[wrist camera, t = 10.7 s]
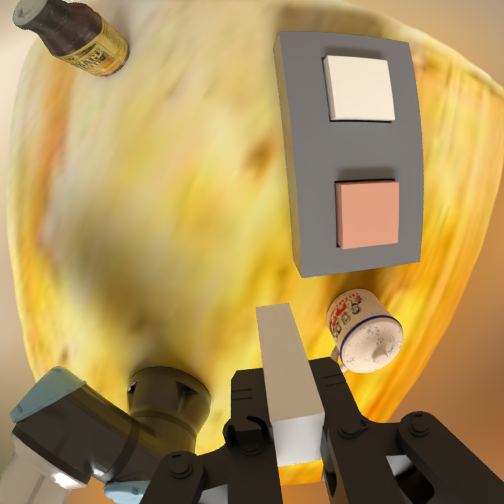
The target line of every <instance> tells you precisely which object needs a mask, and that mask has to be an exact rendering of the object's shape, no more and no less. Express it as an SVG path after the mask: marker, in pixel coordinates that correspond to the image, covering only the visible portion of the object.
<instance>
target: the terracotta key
mask: <svg viewBox="0 0 504 504" xmlns="http://www.w3.org/2000/svg"><path fill="white" fill-rule="evenodd" d="M334 188H335V210H336V243H337V244H338V245H339V246H340V247H341V248H342V249H350V248H358V247H367V246H375V245H384V244H393V243H398V229H399V182H395V181H391V180H387V179H360V180H341V181H334Z"/></svg>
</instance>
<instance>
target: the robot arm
mask: <svg viewBox="0 0 504 504" xmlns="http://www.w3.org/2000/svg"><path fill="white" fill-rule="evenodd" d="M256 314H257V322H258V330H259V339H260V347H261V355H262V363H263V368H256V369H247V370H238V371H236V373H235V374H234V376H233V378H232V379H231V419H229V420H228V422H227V423H226V424H225V425H224V428H223V432H222V433H223V436H224V439H225V442H226V443H225V444H224V445H223V446H222V447H220V448H219V449H217V450H215V451H212V452H209V453H206V454H203V455H199V456H197V455H196V454H195V446H196V437H197V435H198V433H199V431H200V430H201V428H202V426H203V425H204V423H205V421H206V420H207V418H208V416H209V413H210V405H211V399H210V395H209V393H208V391H207V389H206V388H205V387H204V386H203V384H202V383H200V382H199V381H198V380H197V379H195V378H194V377H192V376H191V375H189V374H187V373H184V372H182V371H179V370H176V369H172V368H167V367H150V368H146V369H143V370H140V371H139V372H137V373H136V374H135V375H134V376H133V377H132V379H131V381H130V384H129V386H128V390H127V407H128V414H127V413H125V412H124V411H122V410H121V409H119V408H118V407H117V406H115V405H114V404H112V403H111V402H110V401H108V400H107V399H105V398H104V397H103V396H101V395H100V394H99V393H97V392H96V391H95V390H94V389H92V388H91V387H90V386H88V385H87V384H86V383H87V382H86V381H82V380H81V379H79V378H78V377H77V376H75V375H74V374H73V373H71V372H70V371H69V370H68V369H66V368H64V367H61V366H56V367H54V368H52V369H51V370H49V371H48V372H47V373H46V374H45V375H44V376H43V377H42V378H41V379H40V380H39V381H38V382H37V383H36V384H35V385H34V387H33V388H32V389H31V390H30V391H29V392H28V393H27V394H26V395H25V396H24V397H23V399H22V400H21V401H20V402H19V403H18V405H17V406H16V407H15V408H14V409H13V410H12V411H11V413H10V418H11V419H12V421H13V422H14V423H17V424H16V426H15V428H14V429H13V431H12V432H11V437H12V440H13V444H14V450H15V451H14V453H13V455H12V456H11V458H10V460H9V462H8V464H7V466H6V468H5V469H4V471H3V473H2V475H1V477H0V504H64V503H65V501H66V499H67V497H68V495H69V493H70V491H71V490H72V489H74V488H80V487H86V485H87V484H88V482H89V480H90V478H91V476H92V477H94V478H96V479H98V480H99V481H101V482H103V483H105V486H104V493H105V495H106V496H107V497H108V498H110V499H111V500H112V501H114V502H116V503H118V504H283V500H282V493H281V486H280V479H279V472H278V467H279V466H286V465H293V464H300V463H305V462H311V461H316V460H320V457H321V456H322V460H323V464H324V465H323V472H322V482H325V483H326V487H327V492H328V495H329V500H330V504H504V482H503V481H502V480H501V479H500V478H499V477H498V476H497V475H495V473H493V472H492V471H491V470H490V469H489V468H488V467H487V466H486V465H485V464H484V463H483V462H482V461H481V460H480V459H479V458H478V457H477V456H476V455H475V454H473V453H472V452H471V451H470V450H469V449H468V448H467V447H466V446H465V445H464V444H463V443H462V442H461V441H459V439H457V438H456V436H454V435H453V434H452V433H451V432H450V431H449V430H448V429H447V428H446V427H445V426H444V425H443V424H442V423H441V422H440V421H439V420H438V419H436V418H435V417H434V416H433V415H431V414H429V413H427V412H423V411H418V412H412V413H409V414H407V415H406V416H404V417H403V418H402V419H401V422H400V423H377V422H373V421H370V420H369V419H368V418H366V417H364V416H363V415H362V414H361V413H360V411H359V409H358V407H357V405H356V402H355V400H354V398H353V395H352V393H351V391H350V389H349V386H348V384H347V383H346V380H345V377H344V375H343V373H342V371H341V368H340V366H339V364H338V363H337V362H335V361H334V360H333V359H332V358H331V357H325V358H319V359H314V360H308V359H307V356H306V353H305V350H304V347H303V344H302V341H301V338H300V335H299V332H298V329H297V326H296V323H295V320H294V317H293V314H292V311H291V308H290V305H289V303H285V304H278V305H270V306H262V307H256Z"/></svg>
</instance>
